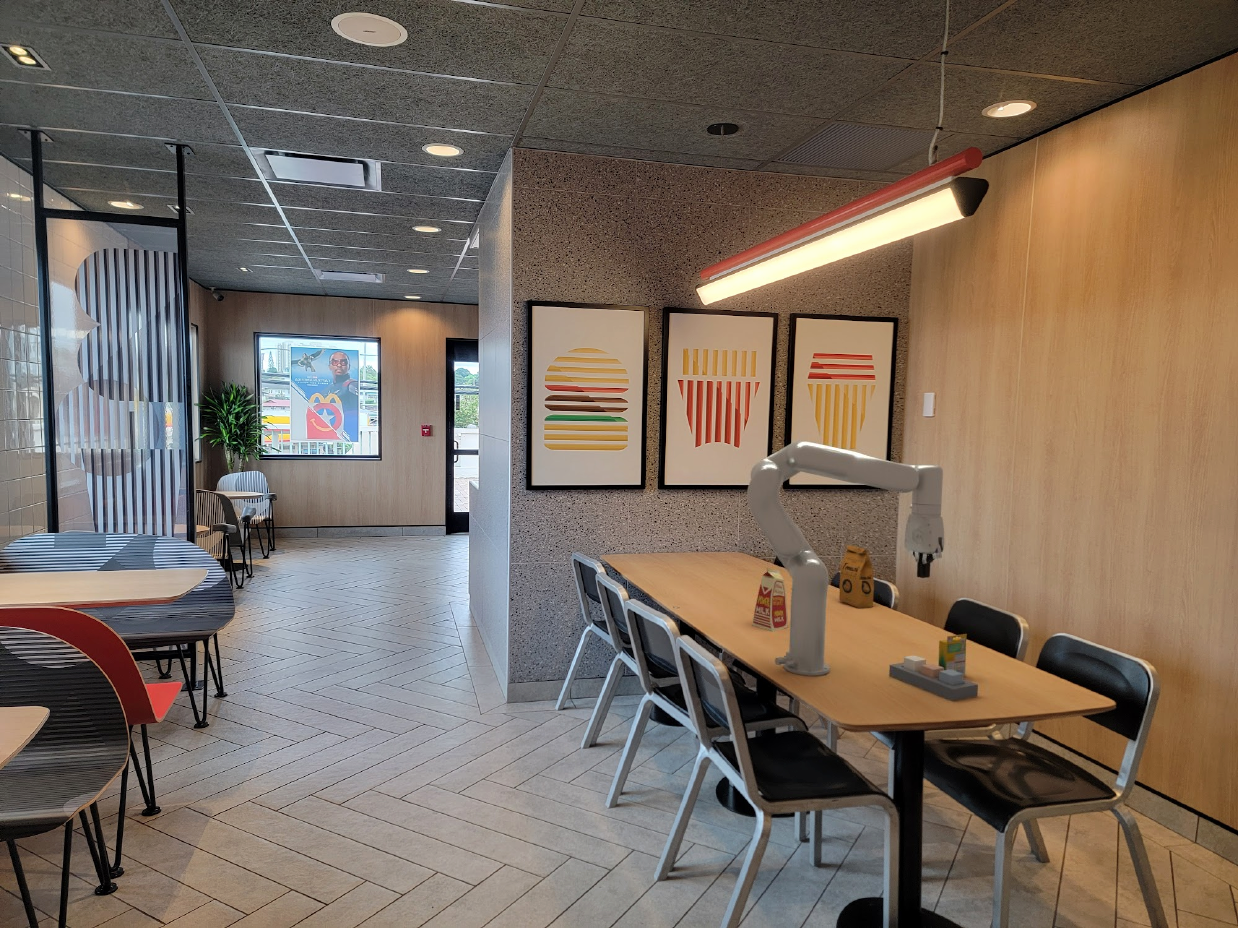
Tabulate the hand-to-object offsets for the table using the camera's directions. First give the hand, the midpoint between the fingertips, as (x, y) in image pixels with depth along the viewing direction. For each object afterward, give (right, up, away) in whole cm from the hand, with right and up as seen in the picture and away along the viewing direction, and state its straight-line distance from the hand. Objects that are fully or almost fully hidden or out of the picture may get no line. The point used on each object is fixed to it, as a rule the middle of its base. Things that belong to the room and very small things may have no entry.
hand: (923, 576), depth 216 cm
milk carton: (-32, -24, +49) cm, 64 cm away
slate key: (+2, -27, -13) cm, 30 cm away
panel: (-1, -28, -7) cm, 29 cm away
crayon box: (+8, -28, +2) cm, 29 cm away
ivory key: (-3, -26, -2) cm, 26 cm away
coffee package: (+7, -23, +83) cm, 87 cm away
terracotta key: (-1, -27, -7) cm, 27 cm away
